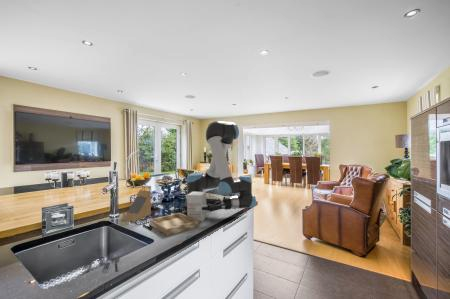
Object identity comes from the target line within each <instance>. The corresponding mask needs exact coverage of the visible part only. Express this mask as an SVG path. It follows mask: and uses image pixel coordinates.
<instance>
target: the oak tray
mask: <svg viewBox="0 0 450 299" xmlns="http://www.w3.org/2000/svg"><path fill="white" fill-rule="evenodd" d="M199 223H200V222H199V221H198V220H196V219H193V218H191V217H189V216H188V214H187V215H186V214H184V213H181V212H177V213H172V214H168V215H165V216H160V217H155V218H151V219H149V226H151V228H152V229H155V230H156V231H158V232H159V233H161V234H162V235H164V236H165V237H168V236H171V235H174V234H175V235H176V234H178V233H182V232H185V231H188V230H191V229H195V228H199V226H200V224H199Z"/></svg>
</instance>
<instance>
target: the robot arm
mask: <svg viewBox="0 0 450 299" xmlns="http://www.w3.org/2000/svg"><path fill="white" fill-rule="evenodd" d="M239 135H240V129H239V126H238V125H237V124H236V123H235V122H231V121H220V120H217V121H216V120H214V121H213V122H210V124H209V125H208V126H207V128H206V131H205V140H206V143H207V144H208V145H209V148H210V152H211V154H212V157H211V158H212V159H211V161H210V165H209V167H208V168H207V169H206V171H205V173H203V172H201V171H199V172H191V173H189V174H188V175H187V177H186V194H187V195H188V194H189V193H191V192H204V190H211V189H218V190H217V191H218V192H219V194H220V195H221V196H223V198H222V199H220V198H206V205H202V206H195V211H206V210H207V212H208V211H209V212H211V213H212V212H215V211H220V210H225V211H227V210H237V209H250V208H255V207H256V205H257V198H256V196H255V195H254V194H252V191H253V190H252V189H253V188H252V185H253V182H252V181H253V180H252V176H250V175H239V177H238V179H235V180H234V178H233V175H232V171H231V168H230V166H229V163H228V159H227V156H226V155H227V152H228V149H229V147H230V145H232V144H233V141H235V140H237V139H238V138H239ZM234 194H239V195H234ZM187 195H186V198H185V201H184V207H185V208H187Z"/></svg>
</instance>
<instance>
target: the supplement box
mask: <svg viewBox="0 0 450 299" xmlns="http://www.w3.org/2000/svg"><path fill="white" fill-rule="evenodd" d="M186 197H187V207H186V208H187V209H186V211H187V212H186V214H187V216H189V217H191V218H193V219H196V220H198V221H199V223H202V222H204V221H205V219H206V218H207V217H208V213H207V212H208V210H206V211H195V206H202V205H207V204H206V199H207V192H206V191H203V192H191V193H189V194H188V195H186Z"/></svg>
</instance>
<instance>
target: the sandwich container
mask: <svg viewBox="0 0 450 299" xmlns="http://www.w3.org/2000/svg"><path fill="white" fill-rule="evenodd" d="M151 195H152V192H151V191H150V190H147V189H146V190H145V189H143V190H141V189H140V190H139V191H138V193H137V194H136V197H135V199H134V201H132V204H131V205H130V206H129V209H128V210H127V212H126V214H125V215H124V217H123V218H122V221H123V220H125V222H130V221H132V223H134V222H135V221H138V220H141V219H143V218H145V217H148V216H150V215H151V214H152V211H151V210H152V209H151V208H152V202H151V201H152V198H151V197H152V196H151ZM133 221H134V222H133Z"/></svg>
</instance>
